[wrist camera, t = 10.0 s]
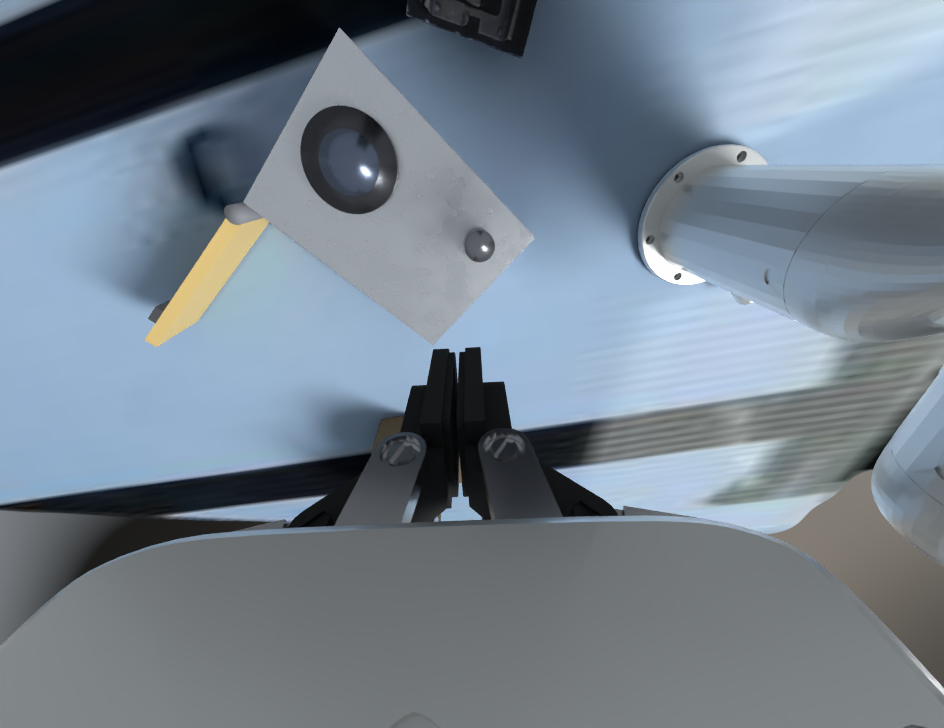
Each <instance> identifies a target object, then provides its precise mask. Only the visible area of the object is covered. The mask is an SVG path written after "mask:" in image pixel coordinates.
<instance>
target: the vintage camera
mask: <svg viewBox="0 0 944 728" xmlns="http://www.w3.org/2000/svg"><path fill="white" fill-rule="evenodd" d="M536 2H537V0H408V1H407V9H406V15H407V16H408V17H410V18H413V19H416V20H419V21H422V22H424V23H427V24H430V25H433V26H435V27H438V28H441V29H444V30H446V31H449V32H452V33H454V34H457V35H460V36H462V37H465V38H467V39H470V40H473V41H475V42H478V43H481V44H483V45H486V46H489V47H491V48H494V49H497V50H499V51H502V52H505V53H507V54H510V55H513V56H516V57H518V58H521V59H522V56H523V53H524V49H525V45H526V41H527V37H528V33H529V29H530V25H531V21H532V17H533V13H534V9H535V6H536Z"/></svg>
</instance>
